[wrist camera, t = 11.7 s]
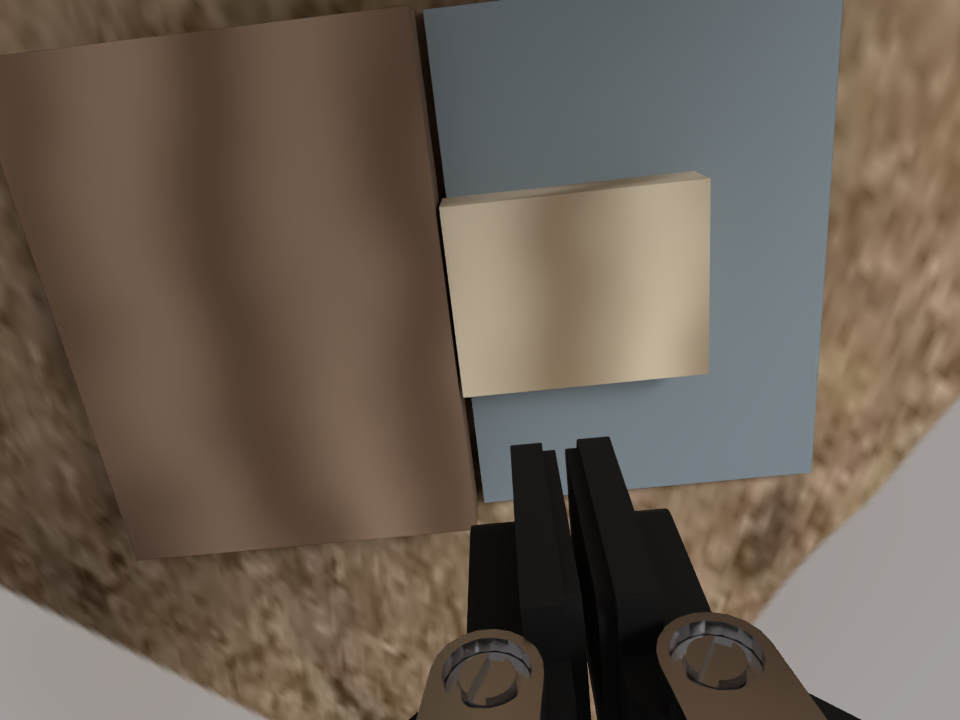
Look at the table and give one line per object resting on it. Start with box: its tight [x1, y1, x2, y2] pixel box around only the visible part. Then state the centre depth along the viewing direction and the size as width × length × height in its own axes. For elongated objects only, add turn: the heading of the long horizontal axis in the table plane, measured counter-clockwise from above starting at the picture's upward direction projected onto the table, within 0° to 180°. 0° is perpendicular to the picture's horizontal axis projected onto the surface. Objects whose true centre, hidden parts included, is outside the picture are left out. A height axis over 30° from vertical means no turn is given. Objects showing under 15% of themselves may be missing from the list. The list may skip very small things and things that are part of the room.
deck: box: [0, 6, 478, 561], centre depth 27 cm, size 14×19×2 cm
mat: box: [423, 0, 843, 503], centre depth 27 cm, size 14×19×1 cm
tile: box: [439, 171, 711, 398], centre depth 26 cm, size 9×7×2 cm
